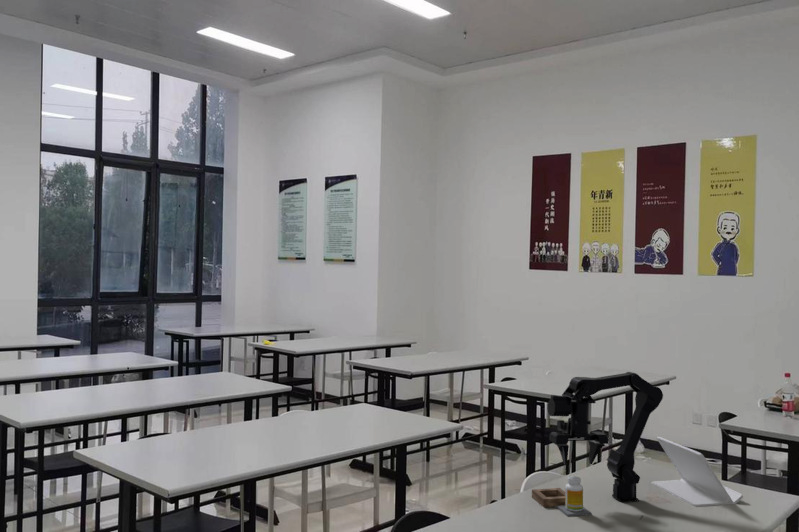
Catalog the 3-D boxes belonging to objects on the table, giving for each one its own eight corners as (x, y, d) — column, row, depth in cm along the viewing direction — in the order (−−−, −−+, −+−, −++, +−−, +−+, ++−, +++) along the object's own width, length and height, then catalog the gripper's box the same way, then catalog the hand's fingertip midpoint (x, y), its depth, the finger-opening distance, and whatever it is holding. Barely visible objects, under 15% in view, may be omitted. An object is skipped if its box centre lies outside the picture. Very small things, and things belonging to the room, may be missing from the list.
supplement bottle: (586, 511, 207) (586, 479, 207) (570, 512, 206) (570, 480, 206) (578, 505, 212) (578, 474, 213) (562, 506, 211) (562, 475, 212)
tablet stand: (695, 507, 214) (695, 454, 214) (650, 483, 238) (650, 436, 239) (744, 503, 217) (744, 451, 218) (695, 481, 242) (695, 434, 242)
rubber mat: (580, 506, 214) (580, 504, 214) (591, 514, 206) (591, 512, 206) (556, 507, 212) (556, 505, 212) (567, 516, 204) (567, 514, 204)
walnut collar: (559, 495, 224) (559, 487, 224) (572, 505, 214) (572, 497, 214) (531, 497, 222) (531, 489, 222) (543, 507, 213) (543, 499, 213)
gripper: (592, 411, 228) (590, 457, 228) (542, 411, 224) (540, 458, 224) (610, 418, 218) (608, 466, 217) (557, 418, 213) (556, 467, 213)
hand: (577, 464), depth 218 cm, fingers open, 9 cm apart
